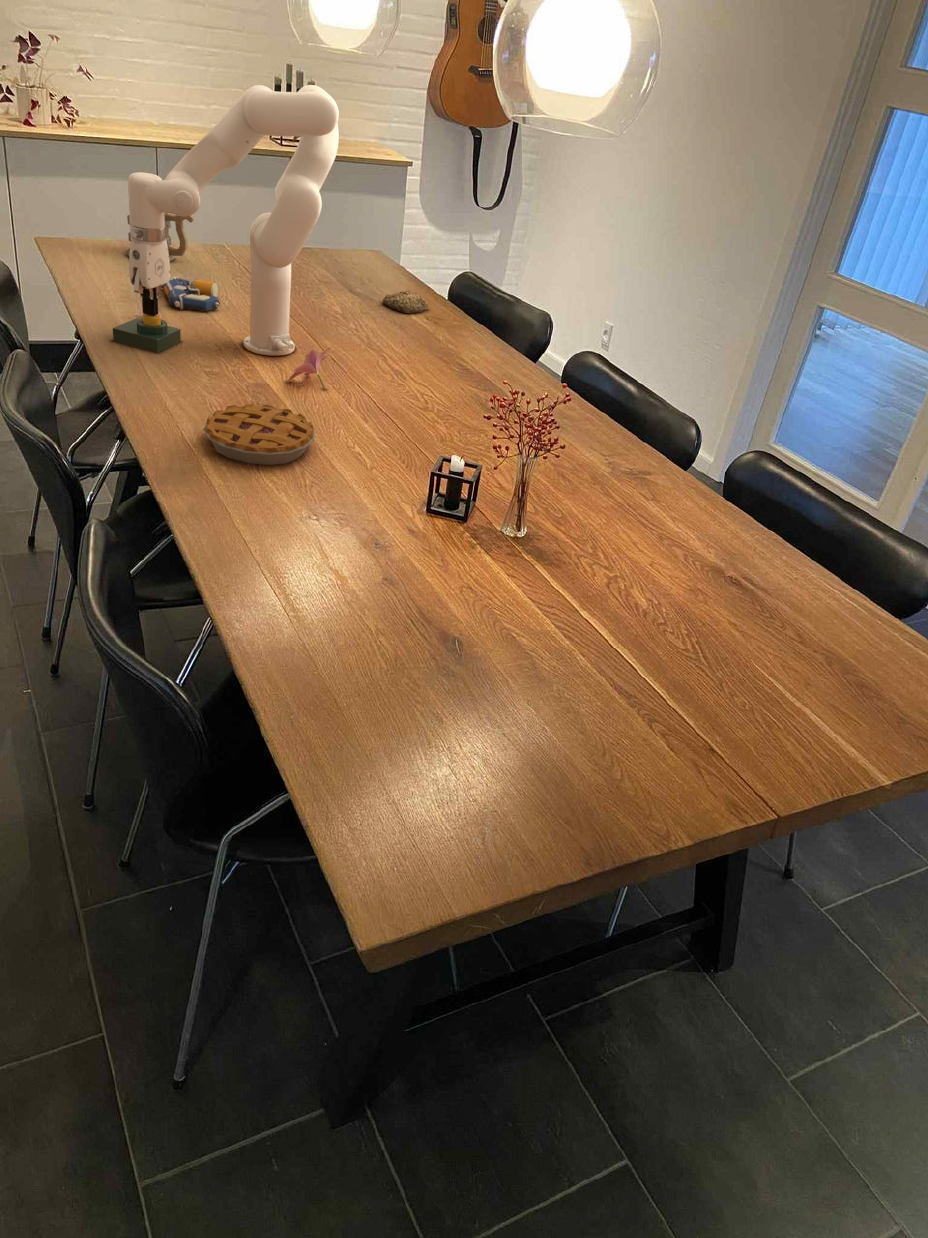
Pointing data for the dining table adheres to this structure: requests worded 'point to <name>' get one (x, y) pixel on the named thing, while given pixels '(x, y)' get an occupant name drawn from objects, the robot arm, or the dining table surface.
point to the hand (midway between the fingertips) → (150, 313)
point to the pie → (259, 434)
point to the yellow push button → (151, 320)
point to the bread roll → (406, 302)
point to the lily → (310, 364)
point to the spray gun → (192, 294)
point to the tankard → (180, 233)
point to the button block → (147, 335)
